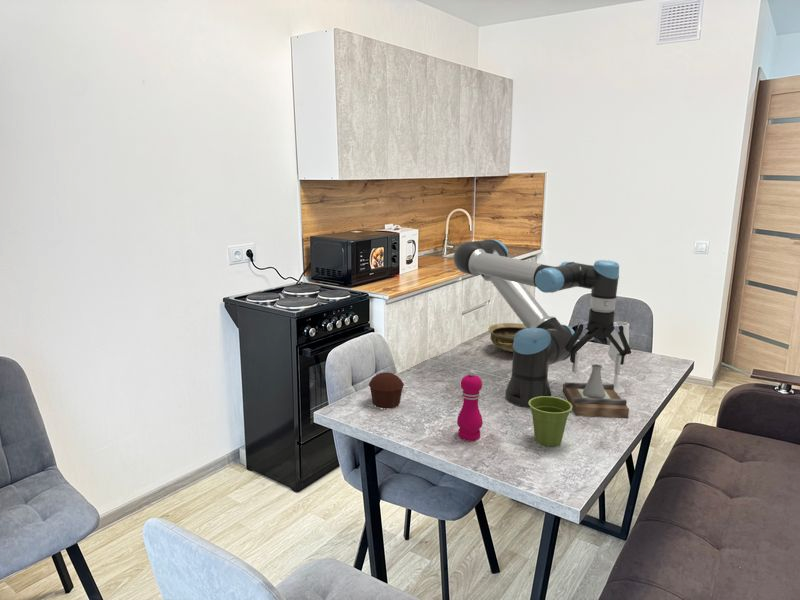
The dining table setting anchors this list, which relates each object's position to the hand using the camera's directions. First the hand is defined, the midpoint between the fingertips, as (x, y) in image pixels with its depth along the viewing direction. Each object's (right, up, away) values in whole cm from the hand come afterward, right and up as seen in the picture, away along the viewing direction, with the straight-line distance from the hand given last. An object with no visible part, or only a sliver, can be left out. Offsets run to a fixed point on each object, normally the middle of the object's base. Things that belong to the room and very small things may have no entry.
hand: (595, 372), depth 182 cm
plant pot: (-22, -16, -24) cm, 36 cm away
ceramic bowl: (-15, +1, +54) cm, 56 cm away
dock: (0, -11, +2) cm, 11 cm away
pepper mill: (-44, -16, -21) cm, 51 cm away
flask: (0, -7, +2) cm, 8 cm away
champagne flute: (+12, -8, +15) cm, 21 cm away
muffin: (-68, -10, +1) cm, 69 cm away
